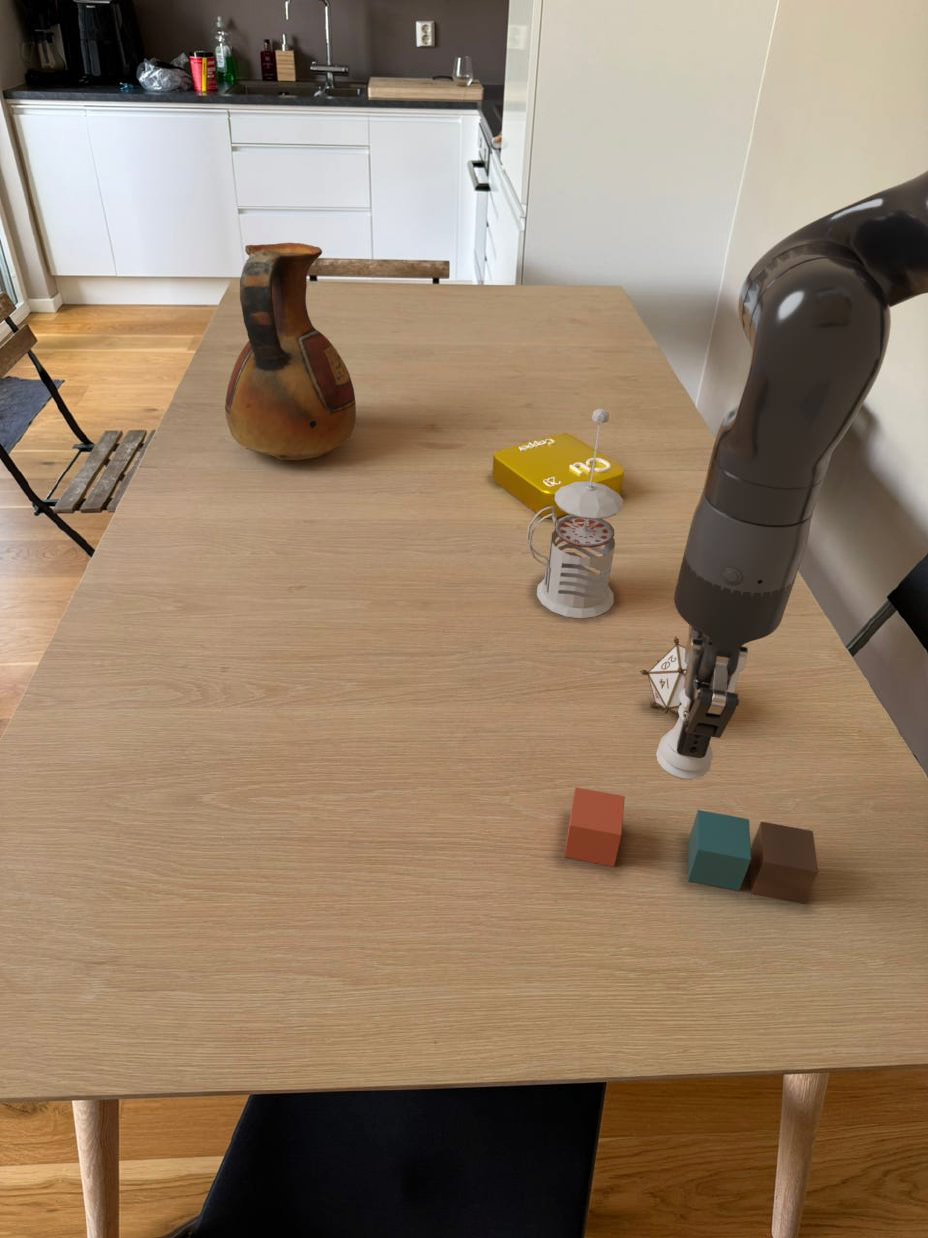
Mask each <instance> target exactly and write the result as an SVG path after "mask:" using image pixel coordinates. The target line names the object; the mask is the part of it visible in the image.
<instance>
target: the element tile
mask: <svg viewBox="0 0 928 1238" xmlns="http://www.w3.org/2000/svg"><path fill="white" fill-rule="evenodd" d="M594 452H595V447H592V446H591V445H589V444H588V443H586V442H585V441H583V440H581V439H579V438H578V437H577V436H575V435H573V434H571V433H569V432H560V433H556V434H555V433H554V434H552V435H548V436H544V437H541V438H537V439H534V440H530V441H526V442H523V443H519V444H515V445H512V446H508V447H504V448H502V449H498V450H496V451H495V452H494V453H493V457H492V458H493V459H492V471H491V472H492V473H491V478H492V481H494V483H496V484H497V485H499V486H500V487H501V488H502V489H504V490H505V491H506V492H507V493H509V494H510V495H511V496H513V497H514V498H515V499H517V500H518V501H519V502H521V503H522V504H523V505H524V506H526V507H527V508H529V509H530V510H532V511H533V512H534V513H535V514H537V513H538V512H539V511H541V510H542V509H545V508H547V507H550V506H551V507H554V508H555V513H554V514H556V515H557V519H558V518H562V517H565V516H568V514H567V513H566V512H564V511H562V510H561V509H560V508H559V507H558V505H557V504H556V502H555V493H556V492H557V491H558V490H559V489H560V488H561V487H564V486H566V485H569V484H572V483H574V482H585V481H590V480H591V473H592V466H593V459H594ZM624 476H625V468H624V467H623V466H622V465H621V464H620V463H618V462H616V461H615V460H613V459H612V458H609V457H608V456H607V455H605V454H603V453H602V452H600V451H598V450H596V457H595V464H594V471H593V478H592V482H595V483H599V484H603V485H605V486H607V487H608V488H610V489H611V490H613V491H615V492H616V493H618V494H619V495H620V496H621V494H622V489H623V488H622V487H623V481H624ZM549 514H552V508H549V509H547V510H545V511H543V512H542V513H540V514H539V515H538V516H539V517H542V518H543V517H545V516H547V515H549ZM554 517H555V516H554ZM546 519H553V518H552V516H550V517H547V518H546Z"/></svg>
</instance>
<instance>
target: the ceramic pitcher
mask: <svg viewBox="0 0 928 1238" xmlns="http://www.w3.org/2000/svg"><path fill="white" fill-rule="evenodd" d="M244 252H245V253H246V255H248V258H247V259H246V260H245V263H244V265H243V267H242V271H241V276H240V279H239V301H240V306H241V311H242V317H243V324H244V326H245V329H246V334H247V338H248V341H247V343H246V344H245V345H244V346H243V348H242V349H241V351H240V353H239V355H238V356H237V358H236V361H235V363H234V365H233V368H232V372H231V375H230V377H229V382H228V385H227V390H226V395H225V403H224V404H225V405H224V411H225V418H226V423H227V426H228V429H229V432H230V434H231V436H232V437H233V440H235V441H236V442H237V444H239V445H240V446H241V447H243V448H245V449H246V450H249V451H252V452H254V453H255V452H256V453H258V454H261V455H266V456H267V455H268V456H273V457H275V458H277V459H278V460H294V461H297V460H308V459H313V458H317V457H321V456H323V455H325V454H327V453H328V452H330V451H332V450H334V449H336V448H338V447H340V446H341V445H343V444H344V443H345V442H347V441H348V440H349V439H350V437H351V436H352V434H353V431H354V430H355V425H356V418H357V417H356V416H357V415H356V413H357V406H356V405H357V404H356V403H357V402H356V395H355V389H354V385H353V382H352V378H351V375H350V372H349V370H348V368H347V365H346V364H345V362H344V360H343V358H342V357H341V355H340V354H339V352H338V350H337V349H336V347H335V346H334V345H333V344H332V343H331V341H330V340H329V339H328V338H327V337H326V336H325V335H324V333H322V332H321V331H319V330H318V329H316V327H314V325H313V323H312V321H311V319H310V316H309V312H308V308H307V307H308V306H307V289H308V284H307V281H308V280H307V279H308V278H307V277H308V273H309V270H310V268H311V266H312V265H313V264H314V263H315V262H316V260H317V259H318V258H319V257H321V256H322V254H323V250H322V248H321V247H320V246H314V245H312V244H306V243H300V242H280V243H268V244H265V243H264V244H247V245H245V248H244Z"/></svg>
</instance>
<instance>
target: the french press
mask: <svg viewBox="0 0 928 1238" xmlns="http://www.w3.org/2000/svg"><path fill="white" fill-rule="evenodd" d="M591 420H592V421H593V422H594V423H597V424H598V425H597V431H596V439H595V446H594V449H595V452H594V459H593V466H592V473H591V480H590V481H585V482H574V483H572V484H569V485H566V486H564V487H561V488H560V489H559V490H558V491H557V492H556V493H555V502H556V504H557V505H558V507H559V508H560V509H561V510H562V511H564V512H566V513H567V515H564V516H561V517H559V519H558V518H557V515H556V514H554V513H555V508H554V507H551V506H550V507H547V508H545V509H542V510H541V511H539V512H538V513H535V515H534V516H533V518H532V519H531V521H530V522H529V524H528V527H527V535H526V538H527V544H528V546H529V551H530V554H531V556H532V558H533V559H534V560H535V561H537V562H538V563H539V564H542V565H544V566H545V573H544V578H543V579H542V580H541V582H540V583H539V584H538V585H537V587H536V597H537V598H538V600H539V602H540V603H541V604H542V605H543V606H544V607H545V608H546V609H548V610H549V611H551V612H552V613H555V614H557V615H561V616H564V617H566V618H575V619H587V618H595V617H598V616H600V615H602V614H604V613H606V612H608V611H609V610H610V609H611V608H612V607H613V605H614V602H615V599H614V594H615V593H614V592H613V591H612V589H611V588H610V586H609V583H610V576H611V571H612V565H613V559H614V554H615V547H616V539H615V538H614V537H615V529H614V527H613V526H612V525H611V523H610V522H608V521H607V520H606V519H608V518H609V519H610V518H612V517H614V516H616V515H617V514H619V512H620V511H621V510H622V509H624V498H622V496H621V494H620V495H619V494H618V493H616V492H615V491H613V490H611V489H610V488H608V487H607V486H605V485H603V484H599V483H595V482H592V478H593V471H594V464H595V457H596V450H597V449H598V443H599V436H600V435H599V434H600V429H601V424H605V423H608V422H609V421H610V413H609V412H608V410H606V409H604V408H597V409H595V410H593V413H592V416H591ZM597 451H598V450H597ZM549 508H552V514H549V515H547V516H545V517H542V518H540V520H538V521H537V522H536V523H535V525H534V526H533V524H534V522H535V520H536V518H537V517H538V516H540V515H539V514H540V513H542V512H543V511H545V510H547V509H549ZM550 516H552V518H551V519H552V521H553V523H554V530H553V532H551V537H550V545H549V554H548V557H547V556H545V555H543V554H541V553H539V552H538V551H536V550H535V549H534V547H533V545H532V540H533V535H534V533H535V531H536V528H537V526H538V525H540V524H541V523H542V522H543V521H544V520H545V519H548V518H547V517H550ZM554 516H555V517H554ZM557 519H558V520H557ZM604 519H605V520H604ZM532 526H533V528H532ZM531 528H532V530H531ZM558 538H559V539H558ZM557 539H558V540H557ZM563 542H565V544H562V545H561V546H559V545H560V544H561V543H563ZM558 546H559V547H558ZM602 546H604V547H603V548H601V547H602ZM585 548H588V549H591V550H592V551H594V552H596V553H598V554H600V555H601V556H597V555H596V554H594V553H593V552H591V551H589V550H587V549H585ZM566 549H575V550H576V551H578V552H581V553H582V554H584V555H585V556H587V557H584V556H581V555H580V554H578V553H577V552H574V551H573V552H572V551H564V550H566ZM536 555H537V556H539V557H540V558H543V559H545V561H546V562H544V561H541V560H540V559H538V557H536ZM589 568H591V569H595V570H597V571H599V573H597V572H595V571H592V570H591V569H589Z"/></svg>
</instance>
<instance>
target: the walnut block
mask: <svg viewBox="0 0 928 1238" xmlns="http://www.w3.org/2000/svg"><path fill="white" fill-rule="evenodd" d="M750 846H751V862H750V864H749V876H750V877H749V879H750V893H751V894H752V895H756V896H763V897H768V898H772V899H776V900H777V899H778V900H783V901H788V902H793V903H799V904H805V901H806V900H807V897H808V895H809V893H810V891H811V889H812V887H813V885H814V883H815V880H816V879H817V876H818V873H819V867H818V859H817V851H816V845H815V836H814V831H813V830H810V829H805V828H799V827H793V826H788V825H783V824H779V823H772V822H767V821H760V823H759V825H758V828H757V831H756V833H755V836H754V839H753V841H752V843H751V845H750Z"/></svg>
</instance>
